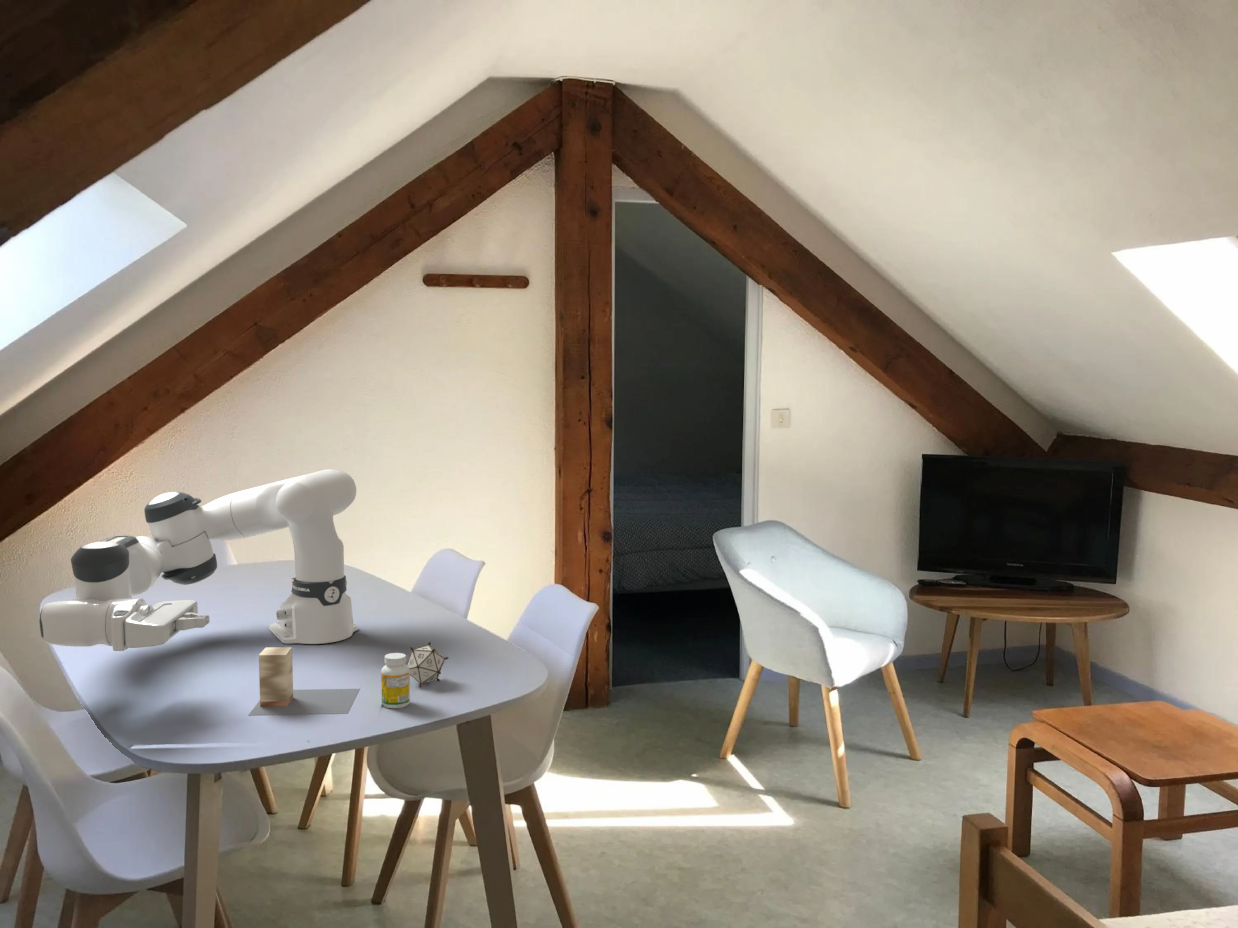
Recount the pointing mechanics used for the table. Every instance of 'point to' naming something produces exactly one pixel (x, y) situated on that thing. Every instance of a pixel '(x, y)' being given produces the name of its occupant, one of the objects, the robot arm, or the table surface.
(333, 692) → the rubber mat
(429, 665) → the game die
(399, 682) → the supplement bottle
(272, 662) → the birch block
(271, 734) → the table surface
